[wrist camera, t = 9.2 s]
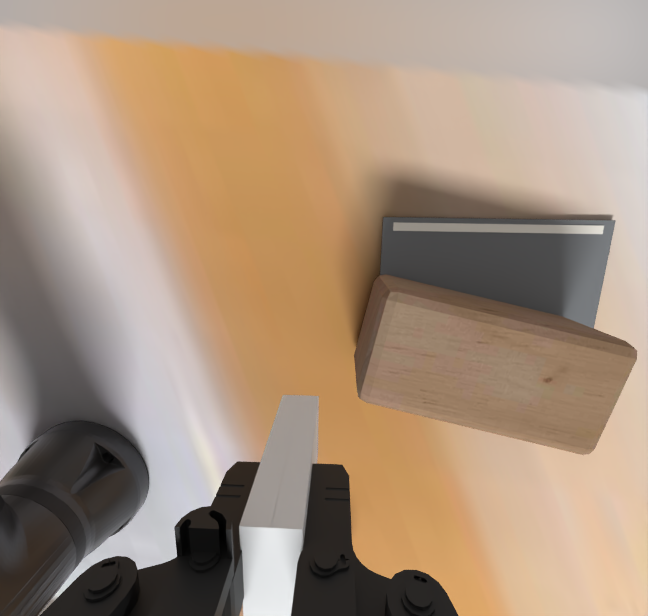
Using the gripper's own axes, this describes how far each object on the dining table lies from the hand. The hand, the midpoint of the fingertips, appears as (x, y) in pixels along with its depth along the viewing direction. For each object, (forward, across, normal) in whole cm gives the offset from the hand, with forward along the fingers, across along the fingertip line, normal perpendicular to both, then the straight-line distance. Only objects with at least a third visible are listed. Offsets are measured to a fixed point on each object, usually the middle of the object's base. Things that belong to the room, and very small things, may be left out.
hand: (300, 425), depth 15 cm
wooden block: (+18, +4, -1) cm, 18 cm away
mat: (+23, +17, +1) cm, 28 cm away
